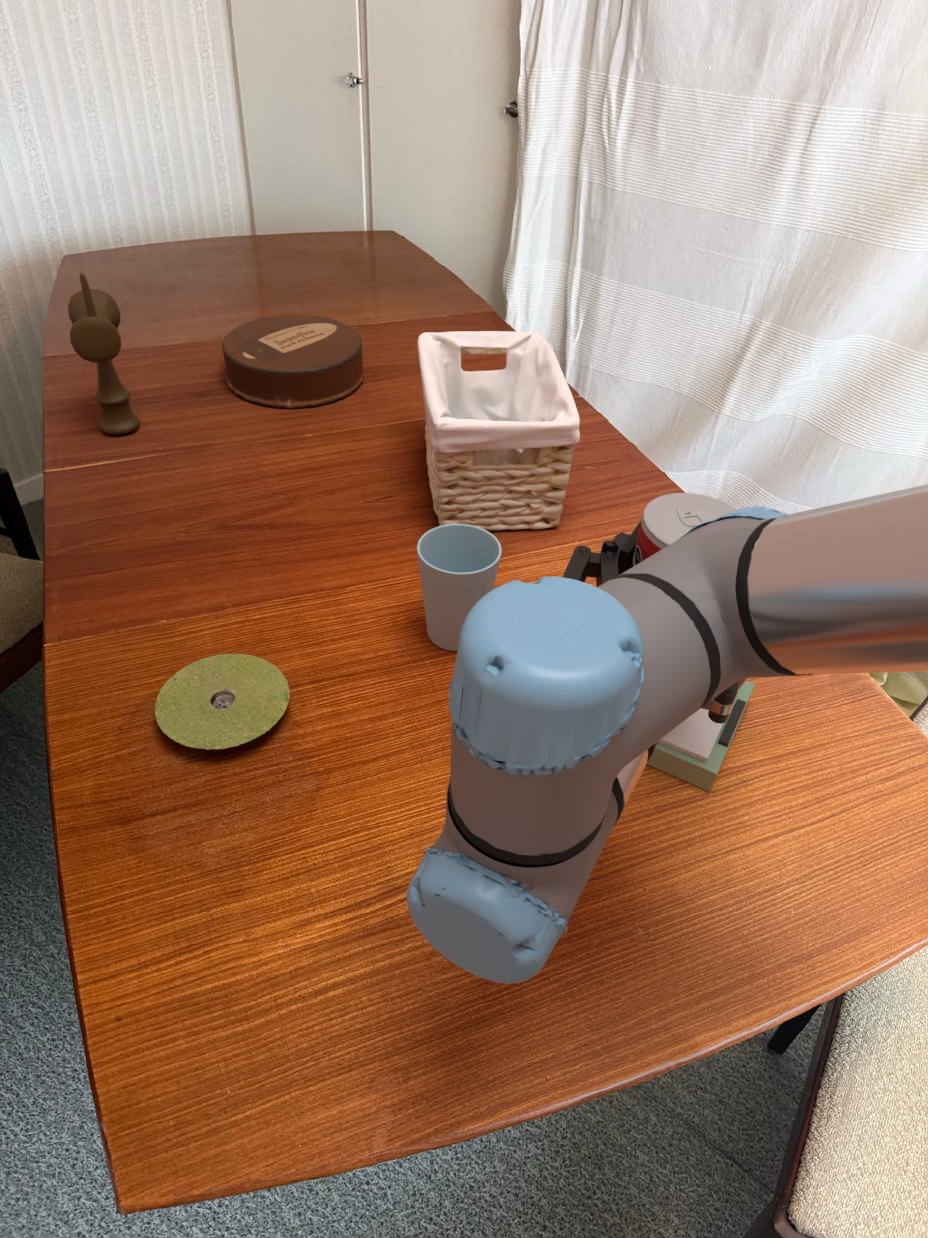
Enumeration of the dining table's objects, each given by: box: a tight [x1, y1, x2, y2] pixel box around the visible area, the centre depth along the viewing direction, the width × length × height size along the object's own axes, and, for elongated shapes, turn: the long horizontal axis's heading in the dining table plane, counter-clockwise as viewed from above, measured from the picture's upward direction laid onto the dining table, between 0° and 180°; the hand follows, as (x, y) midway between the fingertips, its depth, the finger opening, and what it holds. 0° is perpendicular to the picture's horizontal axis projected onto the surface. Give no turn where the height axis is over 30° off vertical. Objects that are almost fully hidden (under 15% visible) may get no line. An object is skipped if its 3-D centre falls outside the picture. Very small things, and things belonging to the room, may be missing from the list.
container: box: [221, 313, 365, 409], centre depth 121 cm, size 20×20×6 cm
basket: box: [417, 330, 581, 532], centre depth 98 cm, size 24×16×15 cm
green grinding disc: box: [154, 653, 291, 751], centre depth 72 cm, size 11×11×2 cm
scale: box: [646, 679, 756, 793], centre depth 73 cm, size 12×12×3 cm
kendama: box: [67, 272, 141, 436], centre depth 103 cm, size 6×10×20 cm, turn 19°
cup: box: [416, 524, 503, 652], centre depth 78 cm, size 8×8×10 cm
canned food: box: [631, 492, 738, 568], centre depth 62 cm, size 8×8×11 cm
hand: (703, 540), depth 64 cm, fingers closed on canned food, 8 cm apart
